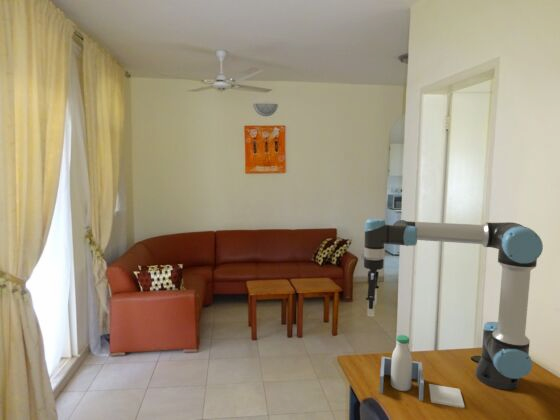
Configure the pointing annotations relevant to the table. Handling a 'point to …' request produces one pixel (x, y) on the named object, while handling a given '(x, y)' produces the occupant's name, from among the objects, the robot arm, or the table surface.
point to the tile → (446, 395)
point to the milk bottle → (401, 365)
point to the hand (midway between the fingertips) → (371, 309)
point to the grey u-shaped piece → (416, 374)
